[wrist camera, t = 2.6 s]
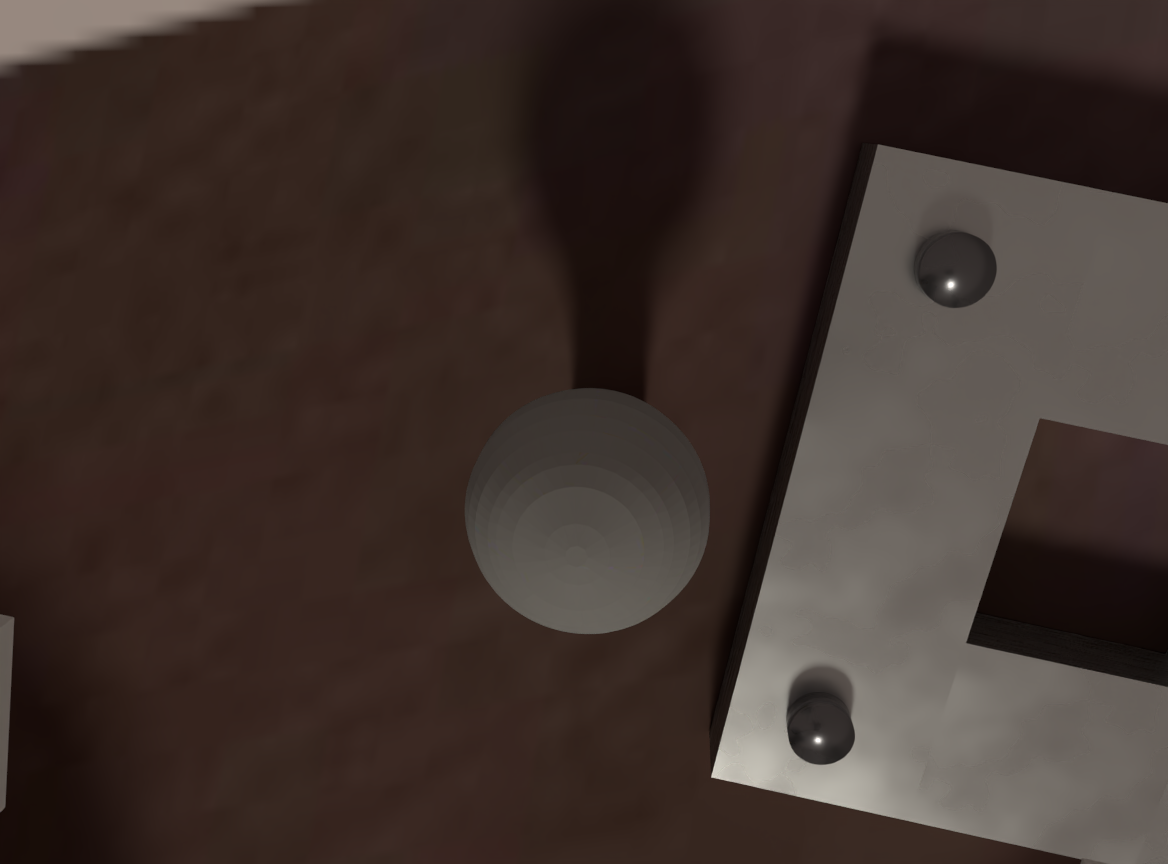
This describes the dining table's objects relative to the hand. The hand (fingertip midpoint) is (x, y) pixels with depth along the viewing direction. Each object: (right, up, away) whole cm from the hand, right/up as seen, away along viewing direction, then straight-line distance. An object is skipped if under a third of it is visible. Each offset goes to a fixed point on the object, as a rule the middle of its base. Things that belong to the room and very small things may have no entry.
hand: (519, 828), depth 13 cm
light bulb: (+1, +5, +18) cm, 19 cm away
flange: (+15, +2, +18) cm, 23 cm away
